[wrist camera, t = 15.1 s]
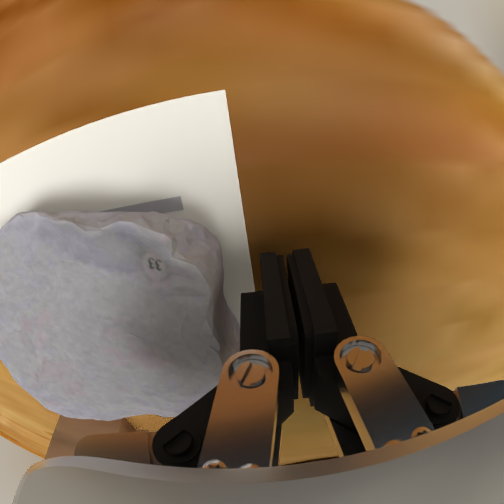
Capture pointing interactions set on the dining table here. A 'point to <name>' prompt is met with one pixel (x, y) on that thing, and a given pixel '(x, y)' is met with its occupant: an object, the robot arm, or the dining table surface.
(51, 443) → the walnut cube
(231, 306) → the letter
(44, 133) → the dining table surface
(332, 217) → the dining table surface
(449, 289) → the dining table surface
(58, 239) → the stone block
